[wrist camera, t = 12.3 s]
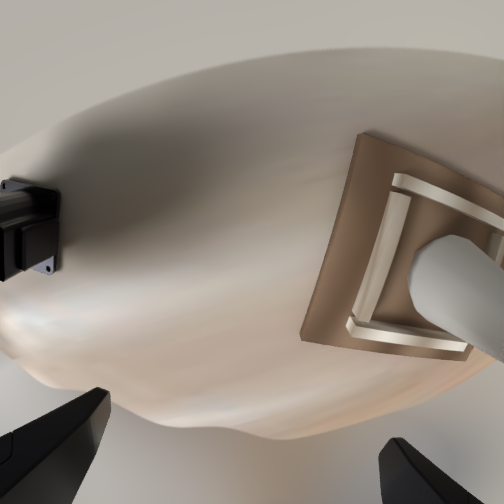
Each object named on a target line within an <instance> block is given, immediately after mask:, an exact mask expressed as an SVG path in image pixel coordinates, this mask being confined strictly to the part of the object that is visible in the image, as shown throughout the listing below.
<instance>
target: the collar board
mask: <svg viewBox="0 0 504 504" xmlns="http://www.w3.org/2000/svg"><path fill="white" fill-rule="evenodd" d="M447 235H456V236H459V237H463V238H466V239H469V240H470V241H471V242H472V243H474V244H475V245H476V246H477V247H478V248H479V249H481V250H482V251H483V252H484V253H485V254H486V255H487V256H489V257H490V258H491V259H492V260H493V261H494V262H495V263H496V264H497V265H499V266H500V267H501V268H502V269H503V270H504V198H503V197H501V196H499V195H498V194H496V193H494V192H492V191H491V190H489V189H487V188H485V187H483V186H481V185H479V184H478V183H476V182H474V181H472V180H470V179H468V178H466V177H464V176H462V175H460V174H458V173H456V172H454V171H452V170H450V169H448V168H446V167H444V166H441V165H439V164H437V163H435V162H433V161H431V160H428V159H426V158H424V157H422V156H419V155H417V154H415V153H412V152H410V151H407V150H405V149H403V148H400V147H398V146H395V145H393V144H390V143H387V142H385V141H382V140H380V139H377V138H374V137H372V136H369V135H366V134H363V133H362V134H359V135H357V139H356V144H355V148H354V152H353V156H352V160H351V164H350V168H349V172H348V176H347V180H346V184H345V187H344V191H343V195H342V199H341V202H340V206H339V210H338V213H337V217H336V220H335V224H334V227H333V231H332V234H331V238H330V241H329V244H328V248H327V251H326V254H325V257H324V261H323V264H322V267H321V270H320V274H319V277H318V280H317V283H316V286H315V289H314V292H313V295H312V298H311V301H310V304H309V307H308V310H307V313H306V316H305V319H304V322H303V325H302V328H301V330H300V337H301V341H307V342H313V343H318V344H324V345H331V346H337V347H343V348H350V349H357V350H364V351H371V352H378V353H386V354H394V355H403V356H411V357H421V358H431V359H442V360H454V361H466V360H467V358H468V356H469V354H470V352H471V351H472V349H473V347H474V346H473V345H471V344H469V343H467V342H465V341H464V340H462V339H460V338H458V337H456V336H455V335H453V334H451V333H449V332H447V331H446V330H444V329H442V328H440V327H438V326H437V325H435V324H433V323H431V322H429V321H427V320H426V319H425V318H424V317H423V316H422V315H421V314H420V313H419V312H418V311H417V310H416V309H415V307H414V304H413V301H412V298H411V295H410V292H409V287H408V281H407V275H408V272H409V269H410V265H411V262H412V259H413V255H414V252H415V251H417V250H418V249H420V248H422V247H423V246H425V245H427V244H428V243H430V242H432V241H433V240H435V239H438V238H441V237H444V236H447Z"/></svg>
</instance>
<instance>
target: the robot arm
mask: <svg viewBox="0 0 504 504" xmlns="http://www.w3.org/2000/svg"><path fill="white" fill-rule="evenodd" d="M5 185H6V187H5ZM53 194H54V195H55V199H54V198H53ZM60 198H61V194H60V192H59V190H57V189H53V188H48V187H43V186H38V185H33V184H28V183H23V182H18V181H13V180H8V179H7V180H3V181H2V182H1V185H0V281H2V282H4V281H6V280H8V279H9V278H11V277H13V276H15V275H16V274H18V273H20V272H22V271H27V270H28V269H33V270H36V271H39V272H41V273H44V274H47V275H52V274H53V273H55V271H56V253H57V243H58V227H59V221H58V218H59V207H60ZM49 266H50V268H51V270H50V269H49ZM110 413H111V399H110V392H109V391H108V390H105V389H102V388H100V387H96V388H94V389H92V390H90V391H88V392H86V393H85V394H83V395H81V396H79V397H77V398H75V399H74V400H72V401H70V402H68V403H66V404H64V405H62V406H60V407H58V408H56V409H55V410H53V411H51V412H49V413H47V414H45V415H43V416H41V417H39V418H37V419H35V420H33V421H31V422H29V423H28V424H25V425H24V426H22V427H20V428H18V429H16V430H14V431H13V432H9V433H7V434H5V435H3V436H1V437H0V504H72V502H73V500H74V498H75V496H76V494H77V491H78V489H79V487H80V485H81V483H82V481H83V479H84V477H85V475H86V473H87V471H88V469H89V467H90V465H91V463H92V461H93V459H94V457H95V455H96V453H97V450H98V447H99V444H100V441H101V439H102V436H103V433H104V430H105V428H106V425H107V422H108V419H109V417H110ZM378 460H379V472H380V486H381V496H382V502H383V504H484V503H482V502H481V501H480V500H478V499H477V498H476V497H474V496H473V495H472V494H471V493H469V492H467V490H465V489H464V488H463V487H462V486H460V485H459V484H458V483H457V482H455V481H454V480H453V479H451V478H450V477H449V476H448V475H447V474H445V473H444V472H443V471H442V470H441V469H439V468H438V467H437V466H435V465H434V464H433V463H432V462H431V461H430V460H428V459H427V458H426V457H425V456H424V455H422V454H421V453H420V452H419V451H418V450H416V449H415V448H414V447H413V446H412V445H411V444H409V443H408V442H407V441H406V440H405V439H403V438H401V437H399V438H398V437H397V438H391V439H390V440H389V441H388V442H387V444H386V445H385V446H384V448H383V449H382V450H381V452H380V453H379V458H378Z"/></svg>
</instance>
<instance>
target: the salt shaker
mask: <svg viewBox="0 0 504 504" xmlns="http://www.w3.org/2000/svg"><path fill="white" fill-rule="evenodd" d="M407 281H408V287H409V292H410V295H411V298H412V301H413V304H414V307H415V309H416V310H417V311H418V312H419V313H420V314H421V315H422V316H423V317H424V318H425V319H426V320H427V321H429V322H431V323H433V324H435V325H437V326H438V327H440V328H442V329H444V330H446V331H447V332H449V333H451V334H453V335H455V336H456V337H458V338H460V339H462V340H464V341H465V342H467V343H469V344H471V345H473V346H474V347H476V348H478V349H480V350H481V351H483V352H485V353H487V354H488V355H490V356H492V357H494V358H495V359H497V360H499V361H501V362H503V363H504V270H503V269H502V268H501V267H500V266H499V265H497V264H496V263H495V262H494V261H493V260H492V259H491V258H490V257H489V256H487V255H486V254H485V253H484V252H483V251H482V250H481V249H479V248H478V247H477V246H476V245H475V244H474V243H472V242H471V241H470V240H469V239H466V238H463V237H459V236H456V235H447V236H444V237H441V238H438V239H435V240H433V241H432V242H430V243H428V244H427V245H425V246H423V247H422V248H420V249H418V250H417V251H415V252H414V255H413V259H412V262H411V265H410V269H409V272H408V275H407Z"/></svg>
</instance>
